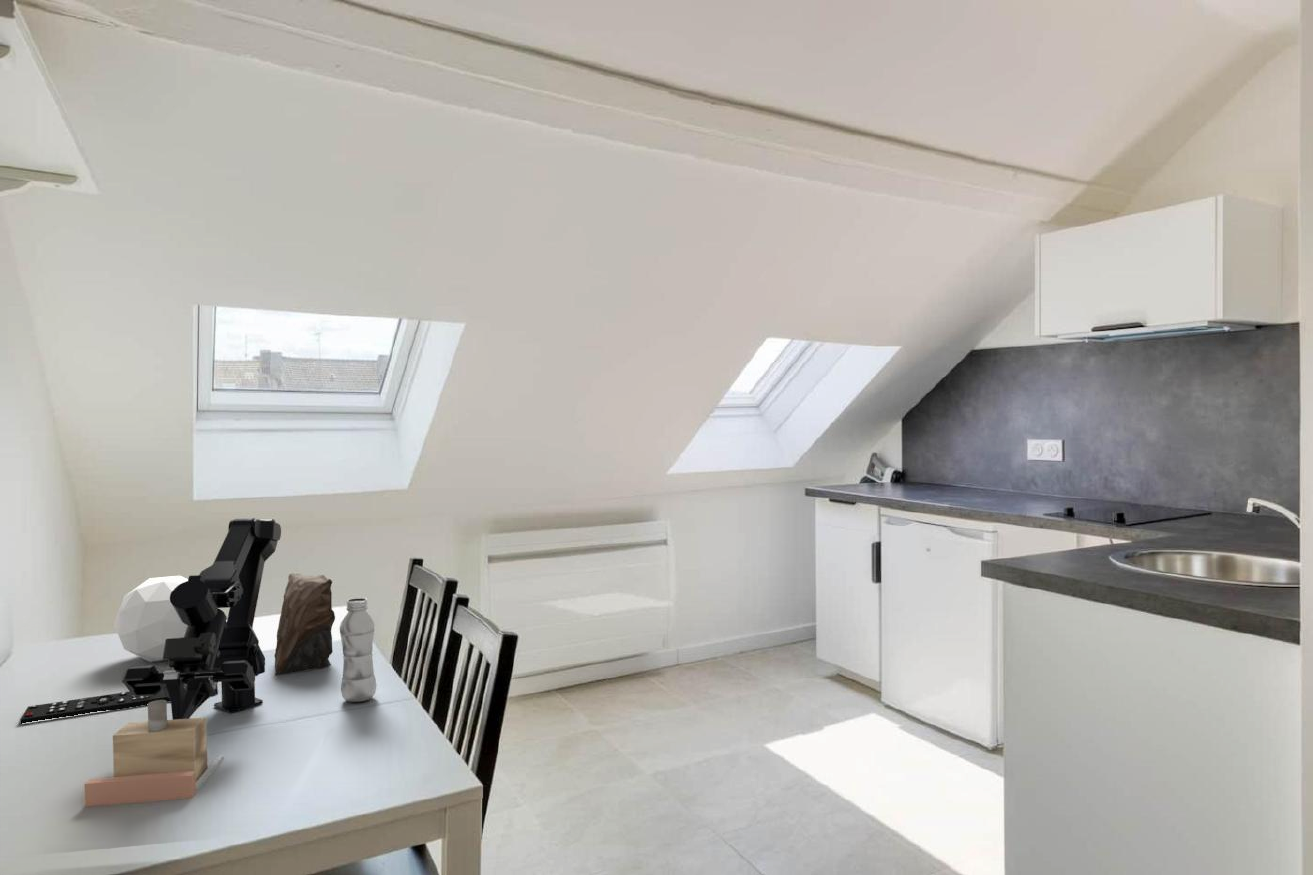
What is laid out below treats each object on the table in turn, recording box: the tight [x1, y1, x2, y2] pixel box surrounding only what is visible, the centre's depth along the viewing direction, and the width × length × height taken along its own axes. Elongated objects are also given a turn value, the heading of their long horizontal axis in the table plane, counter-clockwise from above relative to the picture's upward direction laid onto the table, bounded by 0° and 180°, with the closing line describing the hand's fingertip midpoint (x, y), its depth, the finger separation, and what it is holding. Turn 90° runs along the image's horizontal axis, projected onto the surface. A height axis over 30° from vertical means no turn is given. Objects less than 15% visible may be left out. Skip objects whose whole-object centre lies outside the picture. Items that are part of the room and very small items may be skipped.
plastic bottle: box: [339, 597, 377, 703], centre depth 157 cm, size 6×7×20 cm
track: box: [84, 755, 225, 807], centre depth 120 cm, size 13×14×4 cm
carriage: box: [112, 700, 208, 781], centre depth 121 cm, size 5×11×12 cm, turn 100°
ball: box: [113, 575, 188, 663], centre depth 185 cm, size 19×20×20 cm
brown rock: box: [274, 573, 336, 677], centre depth 180 cm, size 13×13×20 cm
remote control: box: [20, 684, 219, 725], centre depth 157 cm, size 8×32×2 cm, turn 120°
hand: (176, 727), depth 127 cm, fingers closed
